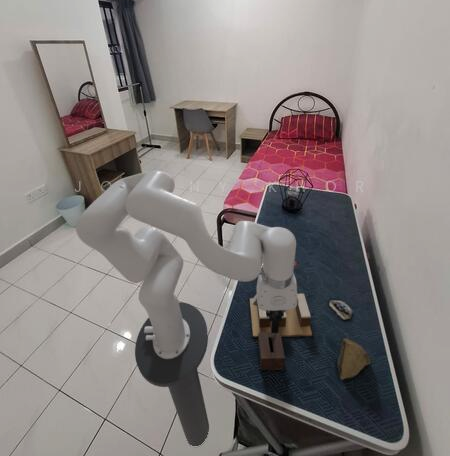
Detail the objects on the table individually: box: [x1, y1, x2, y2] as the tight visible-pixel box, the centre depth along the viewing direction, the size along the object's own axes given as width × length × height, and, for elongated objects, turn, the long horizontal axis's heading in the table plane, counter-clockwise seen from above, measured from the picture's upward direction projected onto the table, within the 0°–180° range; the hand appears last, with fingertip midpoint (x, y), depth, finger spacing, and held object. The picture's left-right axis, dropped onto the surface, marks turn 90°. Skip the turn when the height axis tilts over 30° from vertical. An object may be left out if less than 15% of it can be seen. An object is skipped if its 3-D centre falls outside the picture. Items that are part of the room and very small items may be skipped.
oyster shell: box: [328, 299, 354, 320], centre depth 88 cm, size 7×8×2 cm
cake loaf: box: [257, 306, 286, 327], centre depth 85 cm, size 9×8×6 cm
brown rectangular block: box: [295, 293, 312, 327], centre depth 85 cm, size 3×8×6 cm, turn 0°
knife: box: [270, 310, 280, 347], centre depth 70 cm, size 2×3×14 cm, turn 0°
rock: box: [337, 338, 371, 381], centre depth 71 cm, size 11×9×10 cm
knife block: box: [257, 332, 286, 371], centre depth 75 cm, size 7×7×7 cm
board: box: [249, 297, 313, 338], centre depth 87 cm, size 20×13×1 cm, turn 90°
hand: (274, 315), depth 68 cm, fingers closed on knife, 2 cm apart
